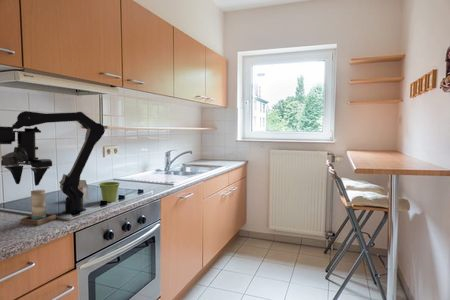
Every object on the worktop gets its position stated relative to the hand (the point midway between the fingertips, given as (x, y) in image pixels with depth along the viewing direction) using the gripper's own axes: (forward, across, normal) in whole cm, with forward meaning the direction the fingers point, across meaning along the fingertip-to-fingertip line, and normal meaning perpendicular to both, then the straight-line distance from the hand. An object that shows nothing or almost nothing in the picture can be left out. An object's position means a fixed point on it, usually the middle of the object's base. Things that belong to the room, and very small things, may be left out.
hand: (27, 184), depth 113 cm
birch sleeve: (+12, +7, -2) cm, 15 cm away
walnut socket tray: (+13, +7, -2) cm, 15 cm away
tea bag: (+13, -3, +31) cm, 34 cm away
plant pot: (+13, +12, +33) cm, 38 cm away
